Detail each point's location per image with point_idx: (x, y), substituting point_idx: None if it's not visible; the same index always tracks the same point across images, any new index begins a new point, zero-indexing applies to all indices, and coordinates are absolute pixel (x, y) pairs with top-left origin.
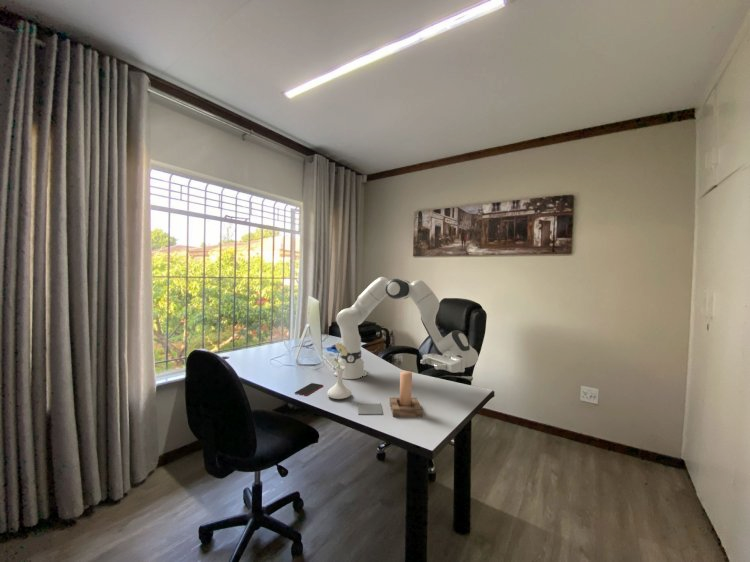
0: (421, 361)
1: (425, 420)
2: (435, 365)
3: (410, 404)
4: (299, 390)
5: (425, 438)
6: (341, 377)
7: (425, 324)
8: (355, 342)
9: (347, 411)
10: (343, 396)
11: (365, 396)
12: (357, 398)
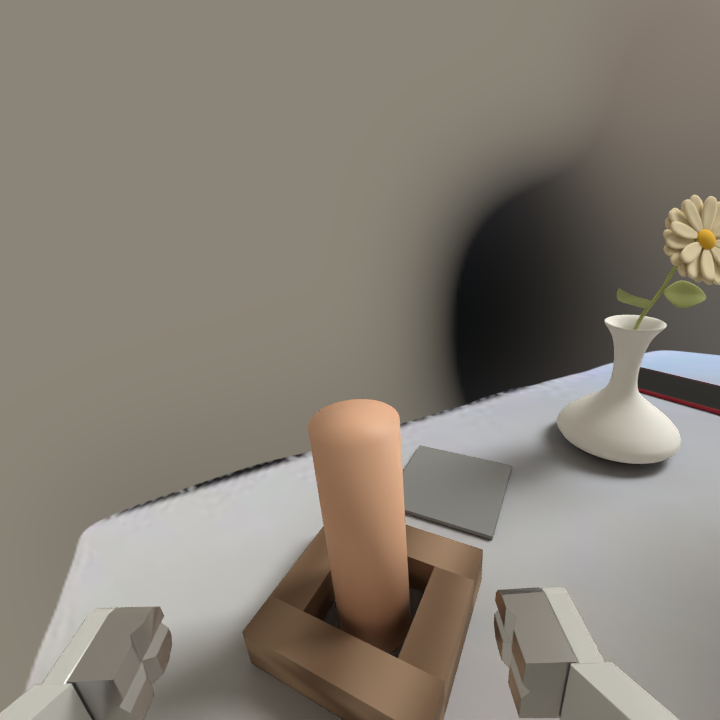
0: (525, 598)
1: (209, 648)
2: (136, 607)
3: (336, 601)
4: (660, 373)
5: (131, 548)
6: (618, 367)
7: None
8: None
9: (458, 433)
10: (561, 426)
11: (619, 519)
12: (587, 484)
